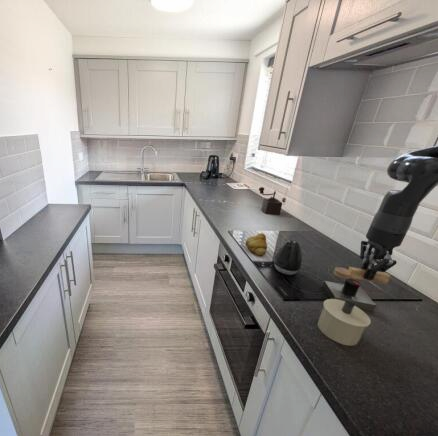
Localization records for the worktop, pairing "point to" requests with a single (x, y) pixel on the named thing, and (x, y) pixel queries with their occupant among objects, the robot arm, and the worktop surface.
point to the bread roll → (257, 244)
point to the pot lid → (346, 313)
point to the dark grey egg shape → (288, 258)
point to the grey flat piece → (349, 296)
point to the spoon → (360, 274)
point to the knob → (351, 287)
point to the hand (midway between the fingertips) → (365, 276)
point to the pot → (339, 330)
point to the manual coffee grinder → (270, 204)
